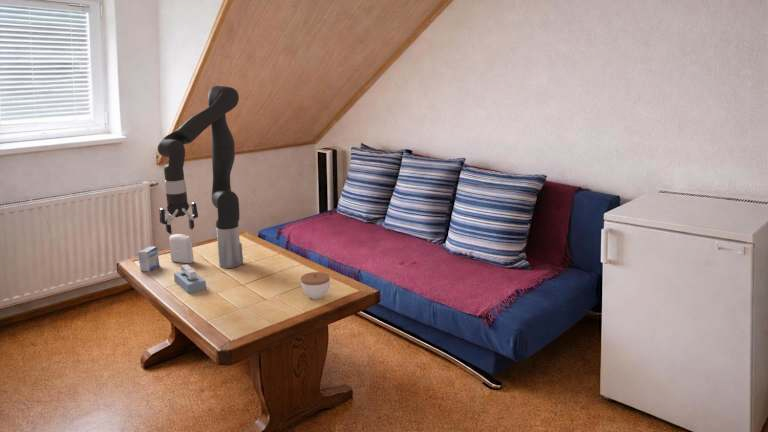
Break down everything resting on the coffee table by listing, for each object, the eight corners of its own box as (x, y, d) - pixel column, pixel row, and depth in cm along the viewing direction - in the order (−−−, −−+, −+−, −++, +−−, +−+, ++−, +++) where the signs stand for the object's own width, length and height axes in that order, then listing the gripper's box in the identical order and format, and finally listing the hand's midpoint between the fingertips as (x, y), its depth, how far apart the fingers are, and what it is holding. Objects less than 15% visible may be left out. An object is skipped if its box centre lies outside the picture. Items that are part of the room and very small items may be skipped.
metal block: (188, 280, 254) (187, 264, 252) (197, 288, 246) (196, 271, 244) (182, 282, 252) (180, 265, 250) (191, 289, 244) (189, 272, 242)
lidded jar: (306, 303, 230) (305, 280, 228) (298, 293, 240) (297, 270, 237) (334, 299, 234) (333, 275, 232) (325, 288, 244) (324, 266, 241)
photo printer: (169, 261, 275) (166, 234, 272) (176, 258, 279) (173, 231, 276) (189, 264, 272) (186, 237, 268) (195, 261, 276) (192, 234, 272)
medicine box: (149, 272, 263) (147, 252, 261) (140, 271, 264) (137, 251, 262) (159, 265, 271) (157, 246, 268) (150, 264, 272) (148, 245, 269)
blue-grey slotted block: (191, 277, 257) (190, 269, 256) (206, 289, 245) (205, 280, 244) (174, 281, 253) (173, 272, 252) (188, 293, 241) (187, 284, 240)
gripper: (190, 186, 249) (194, 225, 253) (154, 192, 240) (159, 232, 245) (197, 189, 243) (201, 229, 247) (160, 195, 235) (165, 237, 239)
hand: (180, 231), depth 246 cm, fingers open, 8 cm apart
